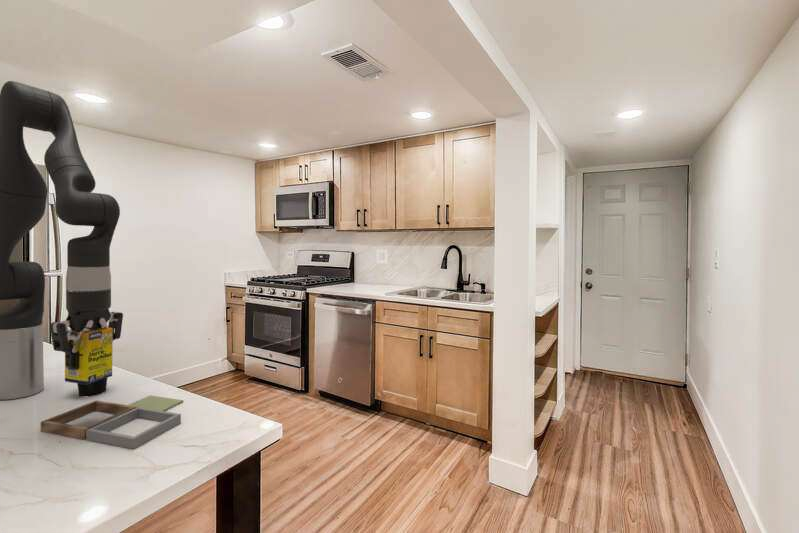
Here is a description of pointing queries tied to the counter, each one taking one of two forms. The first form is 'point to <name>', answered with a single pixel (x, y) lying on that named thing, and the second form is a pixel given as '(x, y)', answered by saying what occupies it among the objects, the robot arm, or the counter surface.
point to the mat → (156, 403)
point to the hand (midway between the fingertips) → (89, 364)
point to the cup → (93, 388)
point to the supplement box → (92, 357)
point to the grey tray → (132, 442)
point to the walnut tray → (57, 422)
